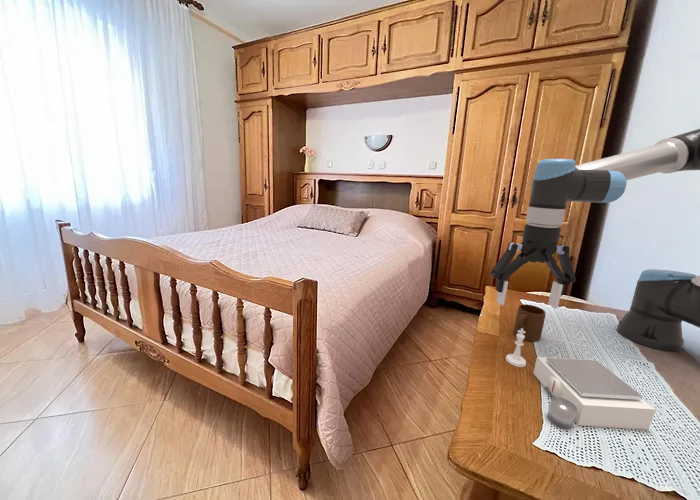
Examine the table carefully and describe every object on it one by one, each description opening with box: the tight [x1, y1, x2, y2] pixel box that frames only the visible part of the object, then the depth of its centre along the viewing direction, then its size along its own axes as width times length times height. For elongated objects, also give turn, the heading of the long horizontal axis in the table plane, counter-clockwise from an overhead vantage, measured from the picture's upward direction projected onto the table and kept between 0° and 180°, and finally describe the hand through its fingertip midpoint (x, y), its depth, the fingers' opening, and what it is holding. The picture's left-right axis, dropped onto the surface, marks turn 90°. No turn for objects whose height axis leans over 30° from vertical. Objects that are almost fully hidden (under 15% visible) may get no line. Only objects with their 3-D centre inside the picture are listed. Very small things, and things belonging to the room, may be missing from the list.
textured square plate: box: [546, 357, 644, 400], centre depth 65 cm, size 12×12×1 cm
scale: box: [533, 356, 656, 431], centre depth 66 cm, size 14×16×5 cm
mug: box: [513, 303, 547, 342], centre depth 90 cm, size 12×8×9 cm, turn 126°
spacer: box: [546, 397, 577, 430], centre depth 59 cm, size 4×4×4 cm
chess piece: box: [505, 329, 527, 368], centre depth 78 cm, size 5×5×10 cm
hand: (526, 304), depth 75 cm, fingers open, 13 cm apart
